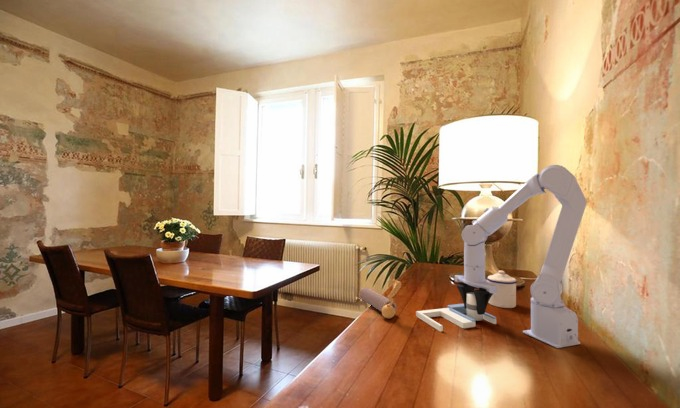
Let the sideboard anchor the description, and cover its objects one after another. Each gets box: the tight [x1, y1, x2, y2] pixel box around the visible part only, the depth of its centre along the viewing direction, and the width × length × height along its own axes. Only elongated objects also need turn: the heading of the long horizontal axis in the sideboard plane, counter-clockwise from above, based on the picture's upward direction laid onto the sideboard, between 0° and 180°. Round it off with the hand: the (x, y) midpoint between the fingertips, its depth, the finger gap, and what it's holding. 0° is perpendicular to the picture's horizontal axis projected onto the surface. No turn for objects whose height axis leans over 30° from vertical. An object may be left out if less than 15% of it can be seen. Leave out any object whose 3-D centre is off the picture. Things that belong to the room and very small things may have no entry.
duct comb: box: [415, 303, 497, 332], centre depth 88 cm, size 12×19×2 cm, turn 107°
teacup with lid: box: [486, 270, 517, 309], centre depth 104 cm, size 12×9×12 cm
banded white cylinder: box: [465, 292, 484, 322], centre depth 88 cm, size 5×5×7 cm
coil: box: [358, 287, 397, 313], centre depth 99 cm, size 5×5×18 cm
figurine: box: [381, 278, 402, 319], centre depth 89 cm, size 8×6×12 cm
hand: (474, 311), depth 88 cm, fingers closed on banded white cylinder, 4 cm apart
